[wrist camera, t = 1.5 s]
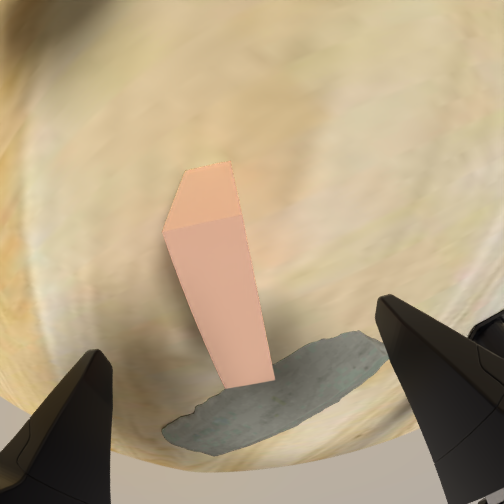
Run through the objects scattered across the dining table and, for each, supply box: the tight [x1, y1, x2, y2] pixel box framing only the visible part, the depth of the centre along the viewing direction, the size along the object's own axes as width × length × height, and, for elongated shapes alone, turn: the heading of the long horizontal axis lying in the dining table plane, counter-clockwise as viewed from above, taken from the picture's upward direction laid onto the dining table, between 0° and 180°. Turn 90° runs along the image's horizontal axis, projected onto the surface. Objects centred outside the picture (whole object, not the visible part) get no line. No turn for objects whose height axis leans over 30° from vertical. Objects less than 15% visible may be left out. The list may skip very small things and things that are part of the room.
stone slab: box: [162, 331, 389, 456], centre depth 22 cm, size 22×3×10 cm
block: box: [162, 161, 275, 389], centre depth 11 cm, size 2×7×6 cm, turn 9°
